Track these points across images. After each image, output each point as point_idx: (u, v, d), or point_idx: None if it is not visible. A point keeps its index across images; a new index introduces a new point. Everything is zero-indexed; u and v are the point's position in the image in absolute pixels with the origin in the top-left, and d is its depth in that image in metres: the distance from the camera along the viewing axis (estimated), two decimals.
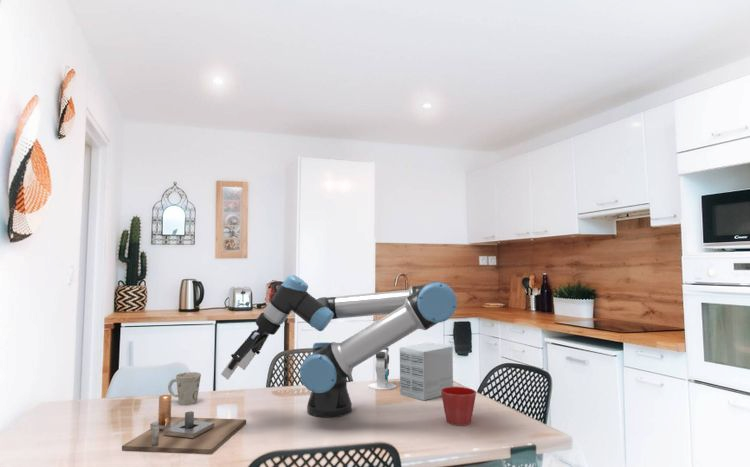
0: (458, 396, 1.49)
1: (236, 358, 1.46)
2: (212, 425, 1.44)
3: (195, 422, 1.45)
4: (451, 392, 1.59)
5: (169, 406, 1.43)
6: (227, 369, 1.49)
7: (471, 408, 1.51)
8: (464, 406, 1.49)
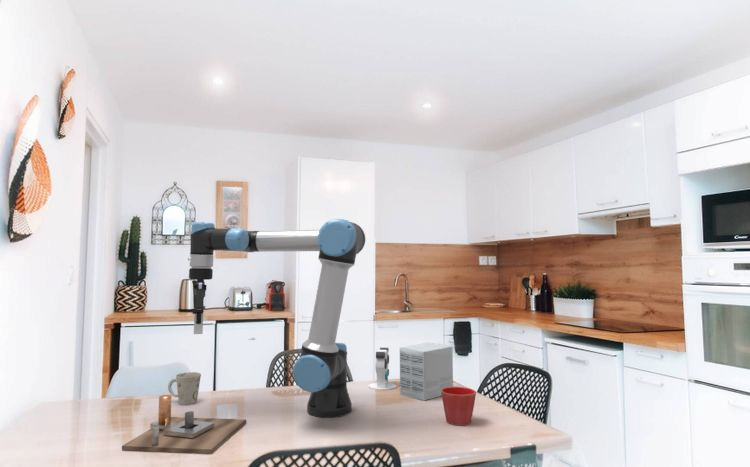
0: (458, 396, 1.49)
1: (200, 310, 1.54)
2: (212, 425, 1.44)
3: (195, 422, 1.45)
4: (451, 392, 1.59)
5: (169, 406, 1.43)
6: (196, 326, 1.56)
7: (471, 408, 1.51)
8: (464, 406, 1.49)
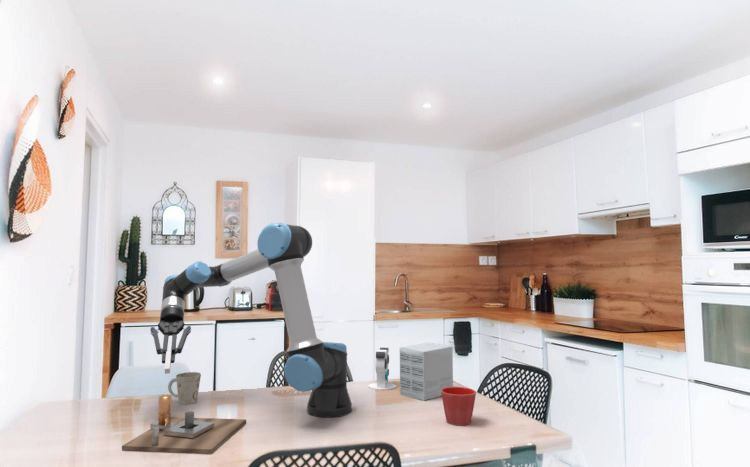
0: (458, 396, 1.49)
1: (157, 350, 1.57)
2: (212, 425, 1.44)
3: (195, 422, 1.45)
4: (451, 392, 1.59)
5: (169, 406, 1.43)
6: None
7: (471, 408, 1.51)
8: (464, 406, 1.49)
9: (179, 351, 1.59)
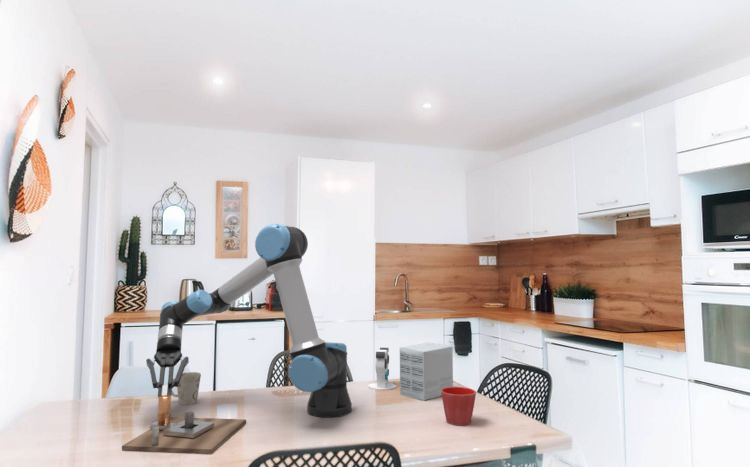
0: (458, 396, 1.49)
1: (153, 383, 1.50)
2: (212, 425, 1.44)
3: (195, 422, 1.45)
4: (451, 392, 1.59)
5: (169, 406, 1.43)
6: None
7: (471, 408, 1.51)
8: (464, 406, 1.49)
9: (176, 384, 1.52)
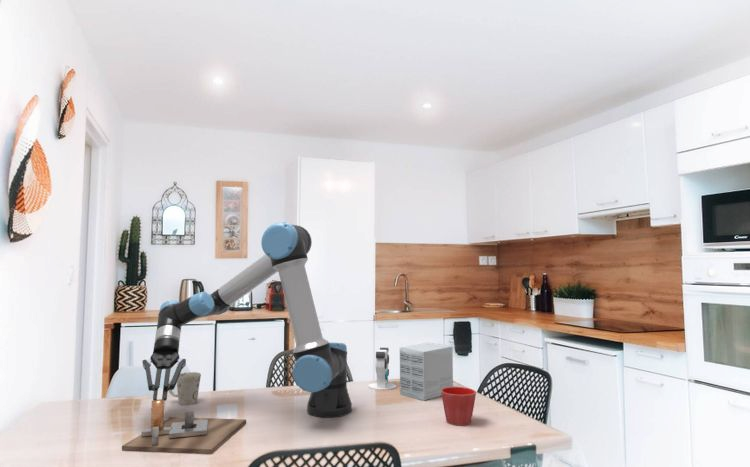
0: (458, 396, 1.49)
1: None
2: (207, 422, 1.47)
3: None
4: (451, 392, 1.59)
5: None
6: None
7: (471, 408, 1.51)
8: (464, 406, 1.49)
9: (172, 387, 1.48)
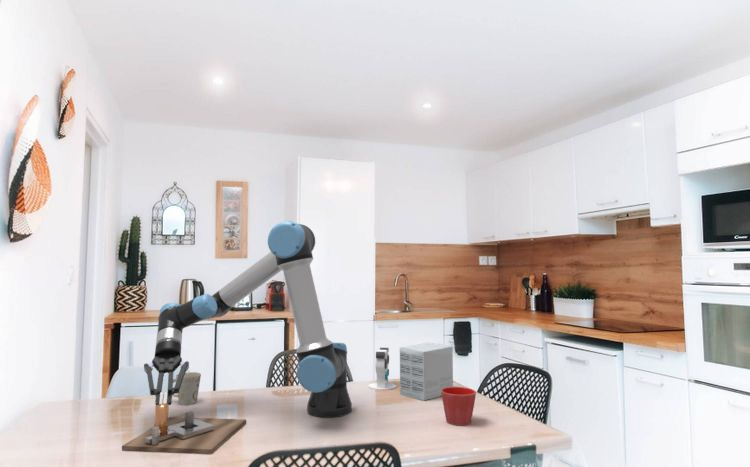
0: (458, 396, 1.49)
1: (150, 390, 1.42)
2: None
3: (181, 424, 1.43)
4: (451, 392, 1.59)
5: None
6: None
7: (471, 408, 1.51)
8: (464, 406, 1.49)
9: (176, 391, 1.44)
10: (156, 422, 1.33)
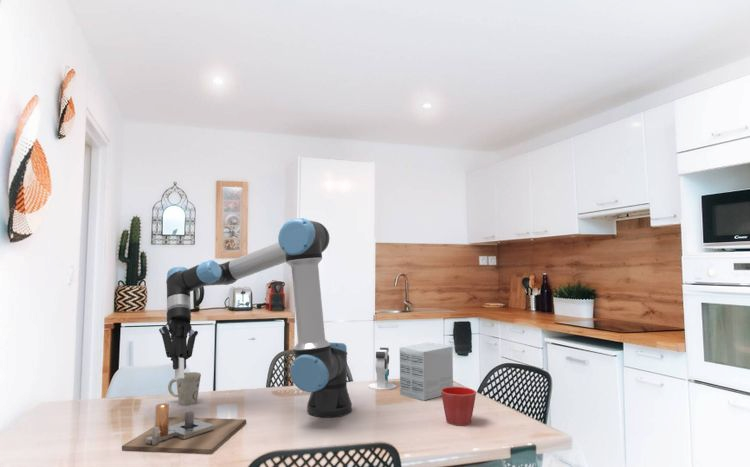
0: (458, 396, 1.49)
1: (169, 353, 1.53)
2: None
3: (180, 424, 1.43)
4: (451, 392, 1.59)
5: None
6: (176, 372, 1.52)
7: (471, 408, 1.51)
8: (464, 406, 1.49)
9: None
10: (157, 422, 1.33)
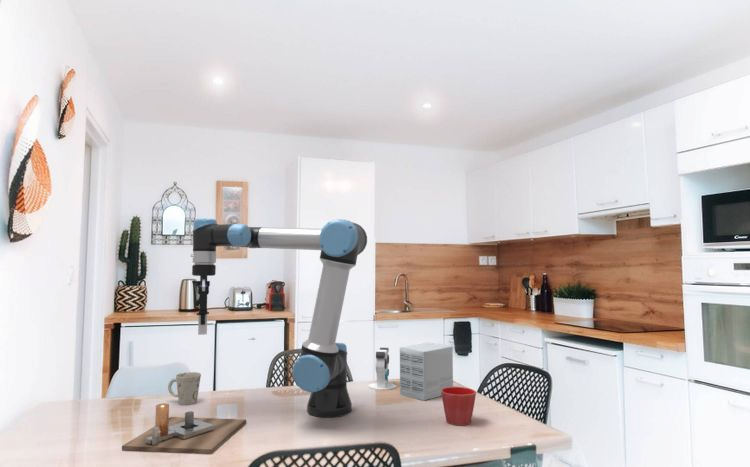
0: (458, 396, 1.49)
1: (204, 311, 1.60)
2: None
3: (180, 424, 1.43)
4: (451, 392, 1.59)
5: None
6: (201, 327, 1.62)
7: (471, 408, 1.51)
8: (464, 406, 1.49)
9: None
10: (157, 422, 1.33)
